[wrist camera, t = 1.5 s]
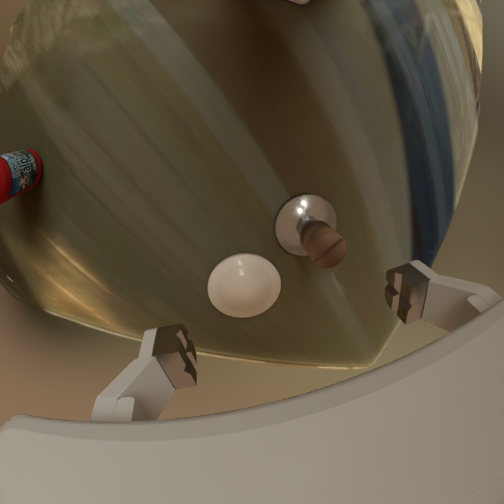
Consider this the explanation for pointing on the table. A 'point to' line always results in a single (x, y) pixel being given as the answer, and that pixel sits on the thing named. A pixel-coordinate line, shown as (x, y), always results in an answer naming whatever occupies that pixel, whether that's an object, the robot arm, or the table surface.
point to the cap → (323, 244)
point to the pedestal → (301, 220)
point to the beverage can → (18, 173)
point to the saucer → (244, 285)
